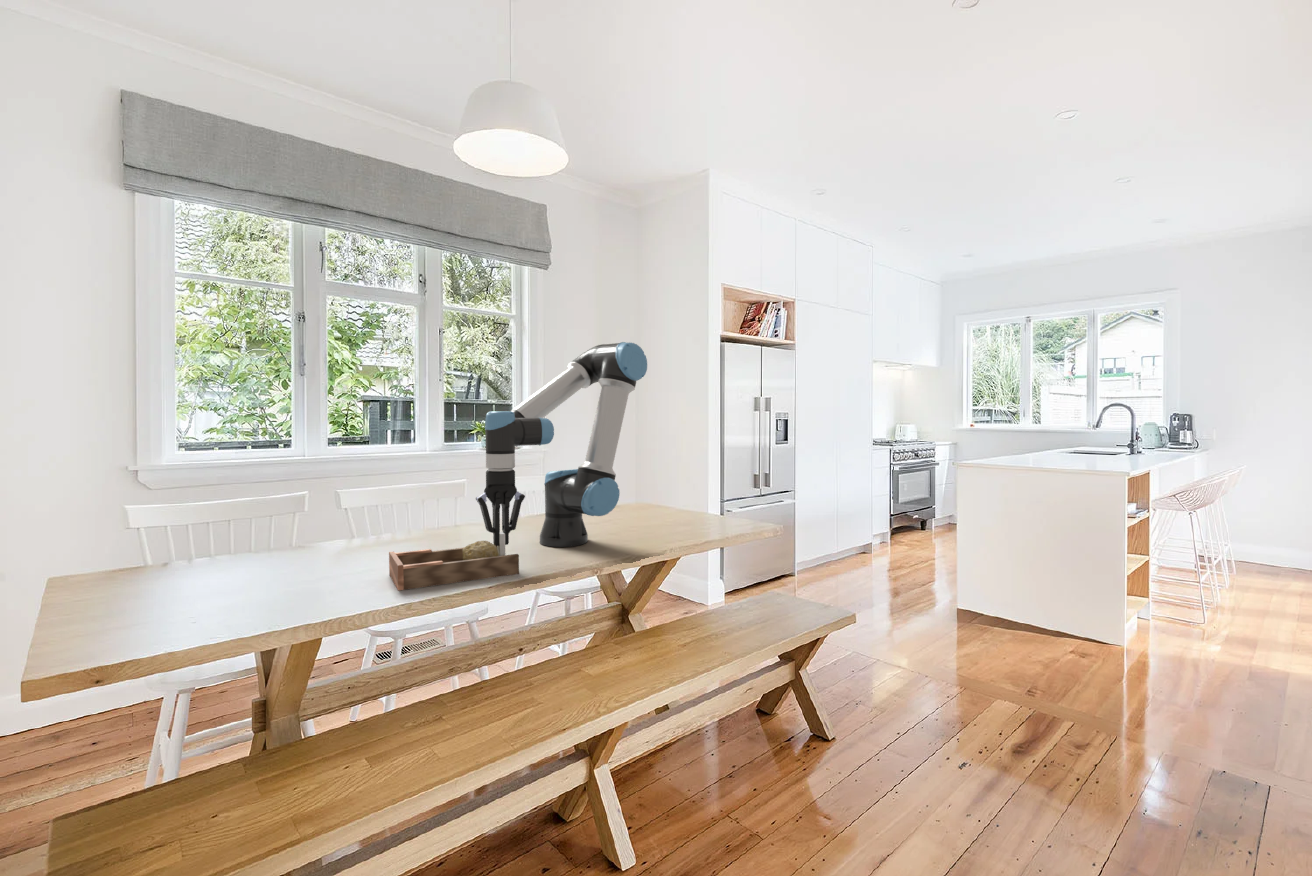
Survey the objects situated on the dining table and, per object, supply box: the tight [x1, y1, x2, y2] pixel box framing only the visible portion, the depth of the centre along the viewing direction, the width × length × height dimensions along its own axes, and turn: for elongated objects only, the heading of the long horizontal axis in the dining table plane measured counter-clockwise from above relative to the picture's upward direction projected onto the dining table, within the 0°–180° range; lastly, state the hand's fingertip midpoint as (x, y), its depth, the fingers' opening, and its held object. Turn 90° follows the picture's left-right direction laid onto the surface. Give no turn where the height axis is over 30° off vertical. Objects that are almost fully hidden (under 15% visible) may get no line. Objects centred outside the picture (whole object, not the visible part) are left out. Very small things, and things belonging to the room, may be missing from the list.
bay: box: [388, 543, 520, 592], centre depth 160 cm, size 29×15×6 cm, turn 121°
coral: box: [462, 540, 499, 560], centre depth 163 cm, size 9×9×8 cm
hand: (501, 557), depth 166 cm, fingers closed
